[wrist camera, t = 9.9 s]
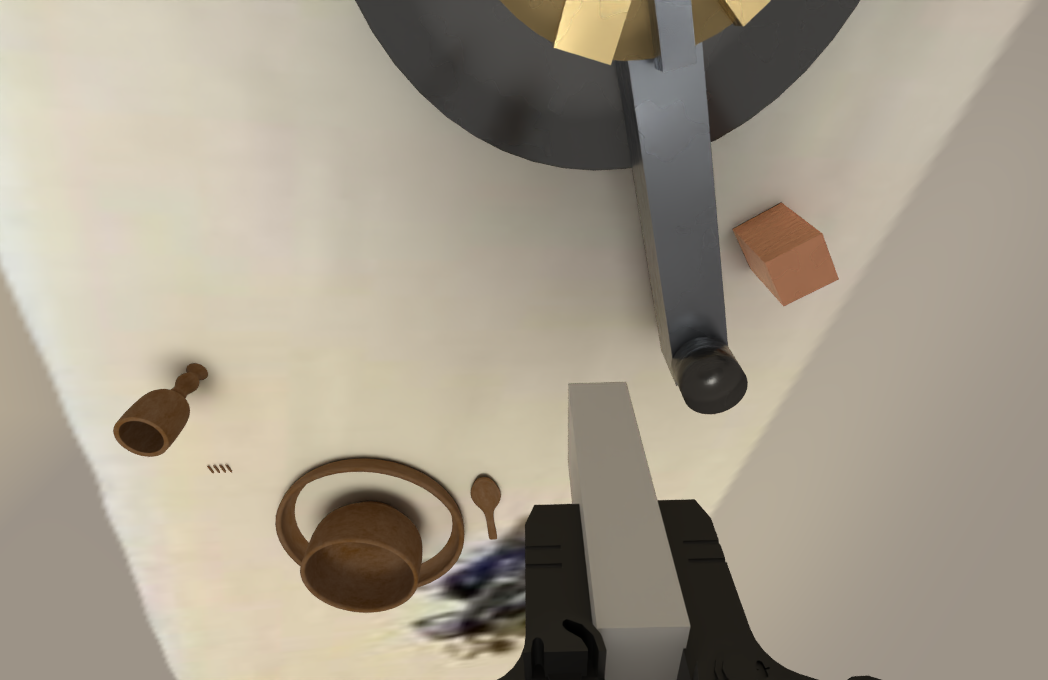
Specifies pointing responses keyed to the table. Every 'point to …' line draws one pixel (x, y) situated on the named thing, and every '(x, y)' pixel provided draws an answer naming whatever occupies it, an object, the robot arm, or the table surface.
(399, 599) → the place setting
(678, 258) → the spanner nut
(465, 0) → the base
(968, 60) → the table surface
